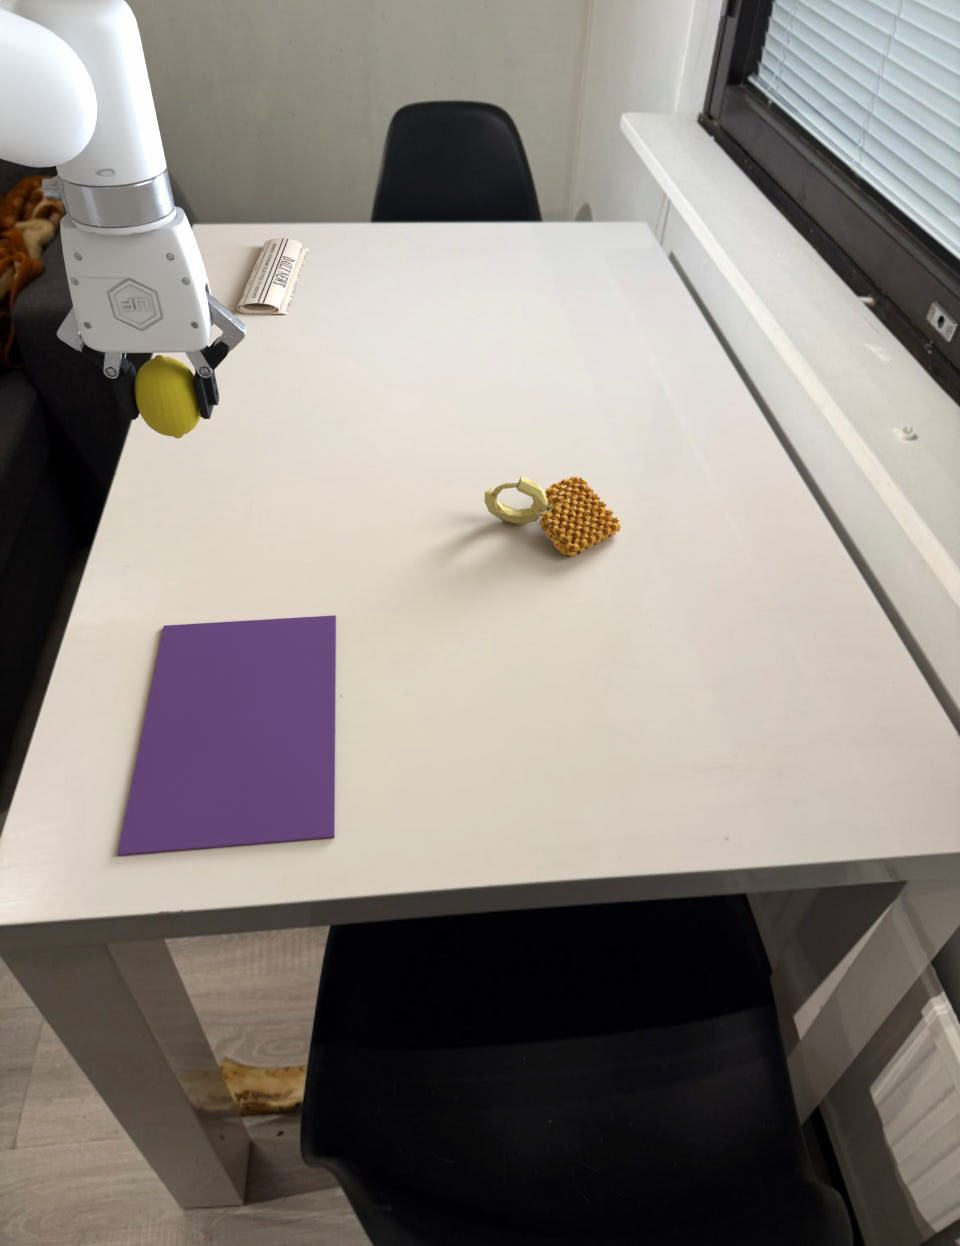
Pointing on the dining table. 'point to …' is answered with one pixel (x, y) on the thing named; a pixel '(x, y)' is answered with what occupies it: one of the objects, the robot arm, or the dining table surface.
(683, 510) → the dining table surface
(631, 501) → the dining table surface
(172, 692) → the cloth
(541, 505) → the ornament
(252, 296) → the newspaper
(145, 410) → the lemon
